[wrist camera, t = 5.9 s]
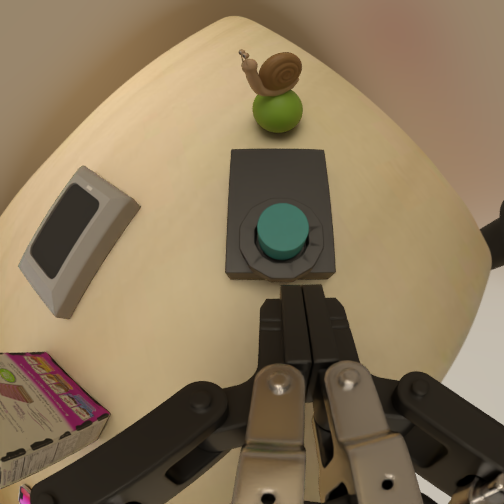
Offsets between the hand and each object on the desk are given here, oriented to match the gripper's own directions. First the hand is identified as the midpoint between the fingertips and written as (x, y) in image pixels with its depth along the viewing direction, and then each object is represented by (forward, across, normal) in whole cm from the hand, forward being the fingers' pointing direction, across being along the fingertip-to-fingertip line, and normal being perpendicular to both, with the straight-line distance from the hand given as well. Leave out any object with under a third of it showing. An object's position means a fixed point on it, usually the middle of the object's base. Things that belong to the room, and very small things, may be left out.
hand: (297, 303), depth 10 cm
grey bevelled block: (+16, +23, +5) cm, 28 cm away
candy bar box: (+3, +23, +18) cm, 29 cm away
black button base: (+17, 0, +4) cm, 18 cm away
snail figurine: (+26, 0, -4) cm, 26 cm away
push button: (+11, 0, +3) cm, 12 cm away
